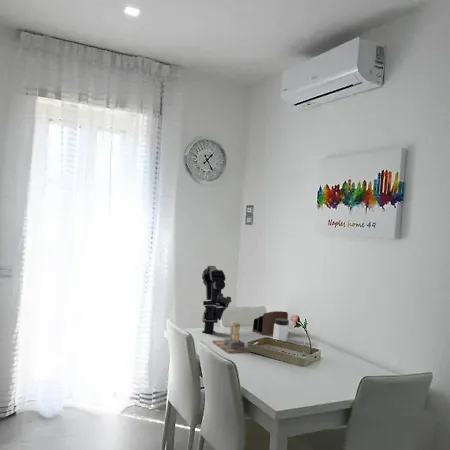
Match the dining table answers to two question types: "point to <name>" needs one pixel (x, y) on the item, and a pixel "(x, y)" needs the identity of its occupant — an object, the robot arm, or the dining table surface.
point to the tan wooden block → (234, 332)
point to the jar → (281, 329)
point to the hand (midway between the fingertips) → (215, 319)
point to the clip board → (231, 346)
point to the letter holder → (267, 322)
